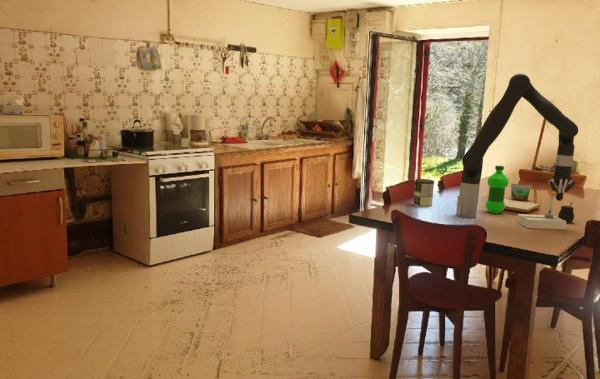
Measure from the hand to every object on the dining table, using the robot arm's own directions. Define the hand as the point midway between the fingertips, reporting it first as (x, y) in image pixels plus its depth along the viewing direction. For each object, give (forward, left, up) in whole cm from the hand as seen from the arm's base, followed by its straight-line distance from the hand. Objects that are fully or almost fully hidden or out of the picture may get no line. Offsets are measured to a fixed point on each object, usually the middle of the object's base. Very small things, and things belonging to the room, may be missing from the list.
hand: (558, 200), depth 249 cm
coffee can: (-55, +38, -13) cm, 68 cm away
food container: (+12, +66, -13) cm, 68 cm away
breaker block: (-7, 0, -13) cm, 15 cm away
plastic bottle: (-19, +27, -13) cm, 36 cm away
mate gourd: (+11, +11, -13) cm, 20 cm away
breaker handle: (-4, 0, -8) cm, 9 cm away
